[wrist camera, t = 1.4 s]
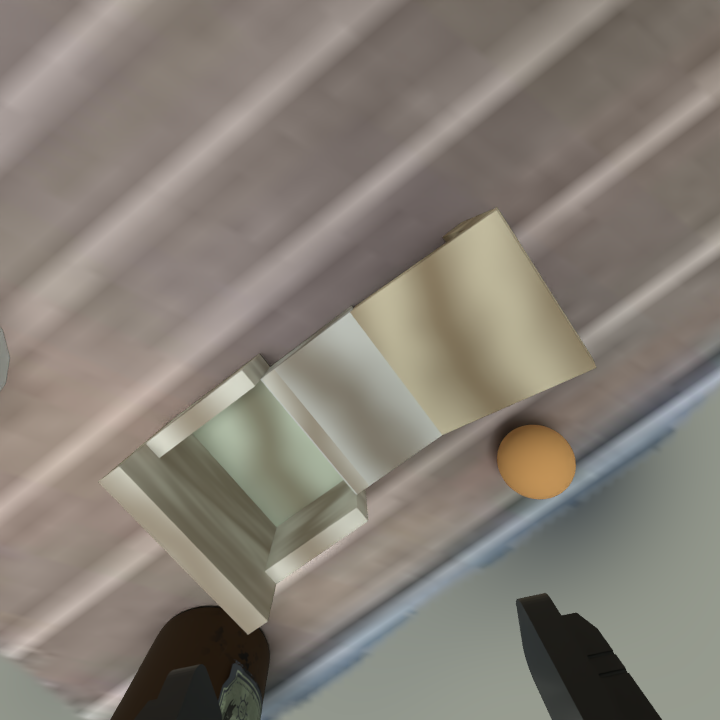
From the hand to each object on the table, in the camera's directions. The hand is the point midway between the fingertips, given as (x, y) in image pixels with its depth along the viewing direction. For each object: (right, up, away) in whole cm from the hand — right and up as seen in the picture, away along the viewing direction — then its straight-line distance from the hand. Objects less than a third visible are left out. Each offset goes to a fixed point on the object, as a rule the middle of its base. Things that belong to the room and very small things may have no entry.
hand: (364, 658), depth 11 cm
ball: (+12, +1, +18) cm, 22 cm away
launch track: (-1, +5, +20) cm, 20 cm away
